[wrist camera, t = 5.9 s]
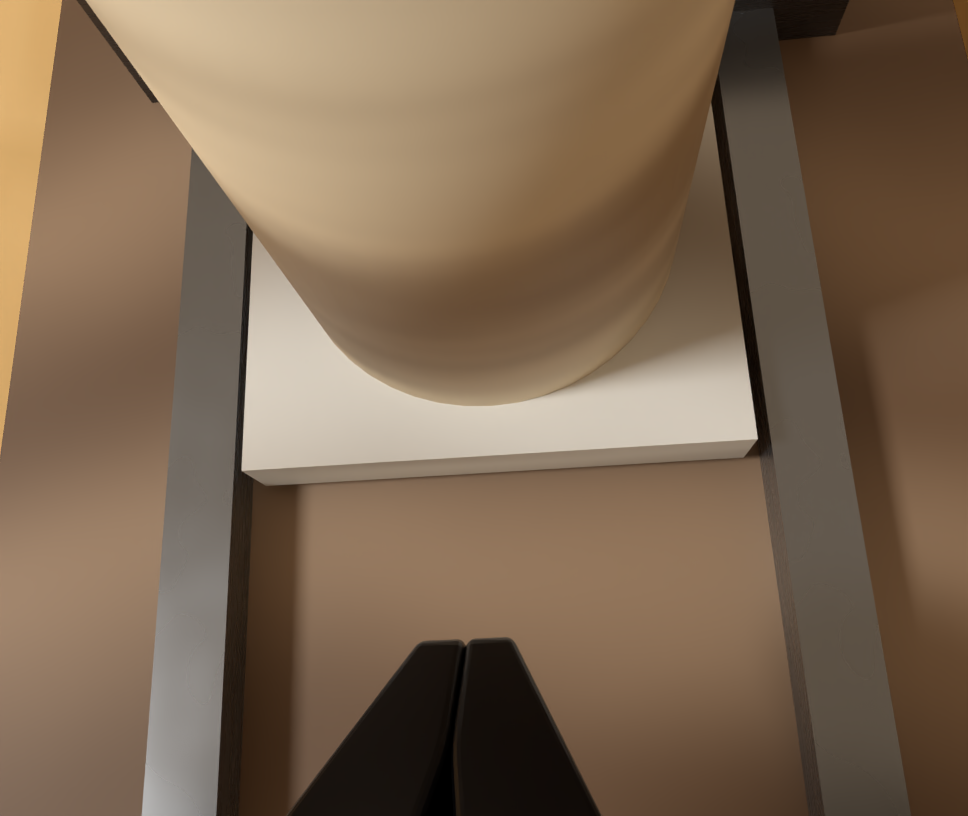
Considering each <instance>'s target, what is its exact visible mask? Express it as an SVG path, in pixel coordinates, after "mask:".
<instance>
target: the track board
mask: <svg viewBox="0 0 968 816" xmlns="http://www.w3.org/2000/svg"><path fill="white" fill-rule="evenodd" d="M779 45H780V51H781V57H782V63H783V69H784V75H785V80H786V86H787V92H788V98H789V104H790V110H791V116H792V121H793V127H794V133H795V139H796V145H797V151H798V157H799V162H800V168H801V174H802V180H803V186H804V192H805V197H806V203H807V209H808V215H809V221H810V227H811V233H812V238H813V244H814V250H815V256H816V262H817V268H818V274H819V279H820V285H821V291H822V297H823V303H824V309H825V315H826V320H827V326H828V332H829V338H830V344H831V350H832V356H833V361H834V367H835V373H836V379H837V385H838V391H839V396H840V402H841V408H842V414H843V420H844V426H845V432H846V437H847V443H848V449H849V455H850V461H851V467H852V473H853V478H854V484H855V490H856V496H857V502H858V508H859V514H860V519H861V525H862V531H863V537H864V543H865V549H866V555H867V560H868V566H869V572H870V578H871V584H872V590H873V595H874V601H875V607H876V613H877V619H878V625H879V631H880V636H881V642H882V648H883V654H884V660H885V666H886V672H887V677H888V683H889V689H890V695H891V701H892V707H893V713H894V718H895V724H896V730H897V736H898V742H899V748H900V754H901V759H902V765H903V771H904V777H905V783H906V789H907V794H908V800H909V806H910V812H911V816H968V59H967V55H966V51H965V47H964V43H963V39H962V35H961V31H960V27H959V23H958V19H957V15H956V11H955V7H954V3H953V0H849V3H848V5H847V8H846V10H845V13H844V15H843V17H842V20H841V22H840V25H839V27H838V30H837V32H836V35H832V36H822V37H812V38H802V39H792V40H782V41H779ZM191 153H192V147H191V145H190V144H189V143H188V141H187V140H186V138H185V137H184V136H183V134H182V133H181V131H180V130H179V129H178V127H177V126H176V125H175V123H174V122H173V120H172V119H171V118H170V116H169V115H168V114H167V112H166V111H165V109H164V108H163V107H162V105H161V104H160V102H157V103H152V102H151V101H150V99H149V98H148V97H147V95H146V94H145V93H144V91H143V90H142V88H141V87H140V86H139V84H138V83H137V82H136V80H135V79H134V78H133V76H132V75H131V74H130V72H129V71H128V69H127V68H126V67H125V65H124V64H123V63H122V61H121V60H120V59H119V57H118V56H117V55H116V53H115V52H114V50H113V49H112V48H111V46H110V45H109V44H108V42H107V41H106V40H105V38H104V37H103V36H102V34H101V33H100V31H99V30H98V29H97V27H96V26H95V25H94V23H93V22H92V21H91V19H90V18H89V17H88V15H87V14H86V12H85V11H84V10H83V8H82V7H81V6H80V4H79V3H78V2H77V0H62V6H61V14H60V21H59V28H58V36H57V43H56V50H55V58H54V65H53V72H52V80H51V87H50V94H49V102H48V109H47V117H46V124H45V131H44V139H43V146H42V153H41V161H40V168H39V175H38V183H37V190H36V197H35V205H34V212H33V219H32V227H31V234H30V242H29V249H28V256H27V264H26V271H25V278H24V286H23V293H22V300H21V308H20V315H19V322H18V330H17V337H16V344H15V352H14V359H13V367H12V374H11V381H10V389H9V396H8V403H7V411H6V418H5V425H4V433H3V440H2V447H1V455H0V816H142V805H143V792H144V778H145V765H146V752H147V738H148V725H149V712H150V698H151V685H152V672H153V659H154V645H155V632H156V619H157V605H158V592H159V579H160V565H161V552H162V539H163V525H164V512H165V499H166V486H167V472H168V459H169V446H170V432H171V419H172V406H173V392H174V379H175V366H176V353H177V339H178V326H179V313H180V299H181V286H182V273H183V259H184V246H185V233H186V219H187V206H188V193H189V180H190V166H191ZM497 637H509V638H511V639H513V641H514V642H515V643H516V645H517V647H518V649H519V651H520V653H521V655H522V657H523V659H524V661H525V663H526V665H527V667H528V669H529V671H530V673H531V675H532V677H533V679H534V681H535V683H536V685H537V687H538V689H539V691H540V693H541V695H542V697H543V699H544V701H545V703H546V705H547V707H548V709H549V711H550V713H551V715H552V717H553V719H554V721H555V723H556V725H557V727H558V729H559V731H560V733H561V735H562V737H563V739H564V741H565V743H566V745H567V747H568V749H569V751H570V753H571V755H572V757H573V759H574V761H575V763H576V765H577V767H578V769H579V771H580V773H581V775H582V777H583V779H584V781H585V783H586V785H587V787H588V789H589V791H590V793H591V795H592V797H593V799H594V801H595V803H596V805H597V807H598V809H599V811H600V813H601V815H602V816H809V811H808V804H807V797H806V790H805V782H804V775H803V768H802V761H801V753H800V746H799V739H798V732H797V724H796V717H795V710H794V703H793V695H792V688H791V681H790V674H789V667H788V659H787V652H786V645H785V638H784V630H783V623H782V616H781V609H780V601H779V594H778V587H777V580H776V572H775V565H774V558H773V551H772V544H771V536H770V529H769V522H768V515H767V507H766V500H765V493H764V486H763V478H762V471H761V464H760V457H759V450H758V442H757V441H756V442H755V443H754V445H753V446H752V447H751V449H750V450H749V451H748V452H747V454H746V455H745V456H744V458H727V459H710V460H693V461H677V462H660V463H643V464H626V465H610V466H593V467H576V468H559V469H543V470H526V471H509V472H492V473H476V474H459V475H442V476H425V477H409V478H392V479H375V480H358V481H342V482H325V483H308V484H291V485H274V486H265V485H264V484H262V483H260V482H259V481H257V480H255V479H254V482H253V505H252V527H251V550H250V573H249V596H248V618H247V641H246V664H245V686H244V709H243V732H242V754H241V777H240V800H239V816H286V815H287V813H288V812H289V811H290V809H291V808H292V807H293V806H294V804H295V803H296V802H297V800H298V799H299V798H300V796H301V795H302V794H303V792H304V791H305V790H306V789H307V787H308V786H309V785H310V783H311V782H312V781H313V779H314V778H315V777H316V775H317V774H318V773H319V772H320V770H321V769H322V768H323V766H324V765H325V764H326V762H327V761H328V760H329V758H330V757H331V756H332V755H333V753H334V752H335V751H336V749H337V748H338V747H339V745H340V744H341V743H342V741H343V740H344V739H345V738H346V736H347V735H348V734H349V732H350V731H351V730H352V728H353V727H354V726H355V724H356V723H357V722H358V721H359V719H360V718H361V717H362V715H363V714H364V713H365V711H366V710H367V709H368V707H369V706H370V705H371V704H372V702H373V701H374V700H375V698H376V697H377V696H378V694H379V693H380V692H381V690H382V689H383V688H384V687H385V685H386V684H387V683H388V681H389V680H390V679H391V677H392V676H393V675H394V673H395V672H396V671H397V670H398V668H399V667H400V666H401V664H402V663H403V662H404V660H405V659H406V658H407V656H408V655H409V654H410V653H411V651H412V650H413V649H414V647H415V646H416V645H417V644H419V643H420V642H422V641H428V640H451V639H459V640H461V641H463V642H464V643H465V645H467V643H468V642H469V641H470V640H471V639H475V638H497Z"/></svg>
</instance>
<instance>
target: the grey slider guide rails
mask: <svg viewBox="0 0 968 816" xmlns="http://www.w3.org/2000/svg"><path fill="white" fill-rule="evenodd" d="M77 2H78V3H79V4H80V6H81V7H82V8H83V10H84V11H85V12H86V14H87V15H88V17H89V18H90V19H91V21H92V22H93V23H94V25H95V26H96V27H97V29H98V30H99V31H100V33H101V34H102V36H103V37H104V38H105V40H106V41H107V42H108V44H109V45H110V46H111V48H112V49H113V50H114V52H115V53H116V55H117V56H118V57H119V59H120V60H121V61H122V63H123V64H124V65H125V67H126V68H127V69H128V71H129V72H130V74H131V75H132V76H133V78H134V79H135V80H136V82H137V83H138V84H139V86H140V87H141V88H142V90H143V91H144V93H145V94H146V95H147V97H148V98H149V99H150V101H151V102H152V103H157V102H159V101H158V100H157V98H156V97H155V96H154V94H153V93H152V91H151V90H150V89H149V87H148V86H147V84H146V83H145V82H144V80H143V79H142V78H141V76H140V75H139V73H138V72H137V71H136V69H135V68H134V67H133V65H132V64H131V62H130V61H129V60H128V58H127V57H126V55H125V54H124V53H123V51H122V50H121V49H120V47H119V46H118V44H117V43H116V42H115V40H114V39H113V37H112V36H111V35H110V33H109V32H108V31H107V29H106V28H105V26H104V25H103V24H102V22H101V21H100V20H99V18H98V17H97V15H96V14H95V13H94V11H93V10H92V8H91V7H90V6H89V4H88V3H87V2H86V0H77ZM848 3H849V0H735V3H734V7H733V12H732V16H731V20H730V24H729V28H728V32H727V37H726V41H725V45H724V49H723V53H722V58H721V62H720V66H719V70H718V74H717V79H716V83H715V87H714V91H713V95H712V100H711V105H712V112H713V119H714V126H715V133H716V141H717V148H718V155H719V162H720V169H721V177H722V184H723V191H724V198H725V206H726V213H727V220H728V227H729V234H730V242H731V249H732V256H733V263H734V271H735V278H736V285H737V292H738V299H739V307H740V314H741V321H742V328H743V336H744V343H745V350H746V357H747V364H748V372H749V379H750V386H751V393H752V400H753V408H754V415H755V422H756V429H757V437H758V440H757V442H758V450H759V457H760V464H761V471H762V478H763V486H764V493H765V500H766V507H767V515H768V522H769V529H770V536H771V544H772V551H773V558H774V565H775V572H776V580H777V587H778V594H779V601H780V609H781V616H782V623H783V630H784V638H785V645H786V652H787V659H788V667H789V674H790V681H791V688H792V695H793V703H794V710H795V717H796V724H797V732H798V739H799V746H800V753H801V761H802V768H803V775H804V782H805V790H806V797H807V804H808V811H809V816H911V812H910V806H909V800H908V794H907V789H906V783H905V777H904V771H903V765H902V759H901V754H900V748H899V742H898V736H897V730H896V724H895V718H894V713H893V707H892V701H891V695H890V689H889V683H888V677H887V672H886V666H885V660H884V654H883V648H882V642H881V636H880V631H879V625H878V619H877V613H876V607H875V601H874V595H873V590H872V584H871V578H870V572H869V566H868V560H867V555H866V549H865V543H864V537H863V531H862V525H861V519H860V514H859V508H858V502H857V496H856V490H855V484H854V478H853V473H852V467H851V461H850V455H849V449H848V443H847V437H846V432H845V426H844V420H843V414H842V408H841V402H840V396H839V391H838V385H837V379H836V373H835V367H834V361H833V356H832V350H831V344H830V338H829V332H828V326H827V320H826V315H825V309H824V303H823V297H822V291H821V285H820V279H819V274H818V268H817V262H816V256H815V250H814V244H813V238H812V233H811V227H810V221H809V215H808V209H807V203H806V197H805V192H804V186H803V180H802V174H801V168H800V162H799V157H798V151H797V145H796V139H795V133H794V127H793V121H792V116H791V110H790V104H789V98H788V92H787V86H786V80H785V75H784V69H783V63H782V57H781V51H780V45H779V41H782V40H792V39H802V38H812V37H822V36H832V35H836V32H837V30H838V27H839V25H840V22H841V20H842V17H843V15H844V13H845V10H846V8H847V5H848ZM252 243H253V231H252V230H251V228H250V227H249V226H248V224H247V223H246V221H245V220H244V219H243V217H242V216H241V214H240V213H239V212H238V210H237V209H236V208H235V206H234V205H233V203H232V202H231V201H230V199H229V198H228V196H227V195H226V194H225V192H224V191H223V190H222V188H221V187H220V185H219V184H218V183H217V181H216V180H215V179H214V177H213V176H212V174H211V173H210V172H209V170H208V169H207V167H206V166H205V165H204V163H203V162H202V161H201V159H200V158H199V156H198V155H197V154H196V152H195V151H194V149H193V148H192V153H191V166H190V180H189V193H188V206H187V219H186V233H185V246H184V259H183V273H182V286H181V299H180V313H179V326H178V339H177V353H176V366H175V379H174V392H173V406H172V419H171V432H170V446H169V459H168V472H167V486H166V499H165V512H164V525H163V539H162V552H161V565H160V579H159V592H158V605H157V619H156V632H155V645H154V659H153V672H152V685H151V698H150V712H149V725H148V738H147V752H146V765H145V778H144V792H143V805H142V816H239V800H240V777H241V754H242V732H243V709H244V686H245V664H246V641H247V618H248V596H249V573H250V550H251V527H252V505H253V482H254V478H252V477H251V476H249V475H247V474H246V473H244V472H243V471H241V470H242V449H243V429H244V408H245V387H246V367H247V346H248V326H249V305H250V285H251V264H252Z"/></svg>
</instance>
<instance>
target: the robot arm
mask: <svg viewBox="0 0 968 816" xmlns="http://www.w3.org/2000/svg"><path fill="white" fill-rule="evenodd" d="M286 816H602V815H601V813H600V811H599V809H598V807H597V805H596V803H595V801H594V799H593V797H592V795H591V793H590V791H589V789H588V787H587V785H586V783H585V781H584V779H583V777H582V775H581V773H580V771H579V769H578V767H577V765H576V763H575V761H574V759H573V757H572V755H571V753H570V751H569V749H568V747H567V745H566V743H565V741H564V739H563V737H562V735H561V733H560V731H559V729H558V727H557V725H556V723H555V721H554V719H553V717H552V715H551V713H550V711H549V709H548V707H547V705H546V703H545V701H544V699H543V697H542V695H541V693H540V691H539V689H538V687H537V685H536V683H535V681H534V679H533V677H532V675H531V673H530V671H529V669H528V667H527V665H526V663H525V661H524V659H523V657H522V655H521V653H520V651H519V649H518V647H517V645H516V643H515V642H514V641H513V639H511V638H509V637H497V638H475V639H471V640H470V641H469V642H468V643H467V645H465V643H464V642H463V641H461V640H459V639H451V640H428V641H422V642H420V643H419V644H417V645H416V646H415V647H414V649H413V650H412V651H411V653H410V654H409V655H408V656H407V658H406V659H405V660H404V662H403V663H402V664H401V666H400V667H399V668H398V670H397V671H396V672H395V673H394V675H393V676H392V677H391V679H390V680H389V681H388V683H387V684H386V685H385V687H384V688H383V689H382V690H381V692H380V693H379V694H378V696H377V697H376V698H375V700H374V701H373V702H372V704H371V705H370V706H369V707H368V709H367V710H366V711H365V713H364V714H363V715H362V717H361V718H360V719H359V721H358V722H357V723H356V724H355V726H354V727H353V728H352V730H351V731H350V732H349V734H348V735H347V736H346V738H345V739H344V740H343V741H342V743H341V744H340V745H339V747H338V748H337V749H336V751H335V752H334V753H333V755H332V756H331V757H330V758H329V760H328V761H327V762H326V764H325V765H324V766H323V768H322V769H321V770H320V772H319V773H318V774H317V775H316V777H315V778H314V779H313V781H312V782H311V783H310V785H309V786H308V787H307V789H306V790H305V791H304V792H303V794H302V795H301V796H300V798H299V799H298V800H297V802H296V803H295V804H294V806H293V807H292V808H291V809H290V811H289V812H288V813H287V815H286Z"/></svg>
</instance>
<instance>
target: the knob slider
mask: <svg viewBox="0 0 968 816" xmlns="http://www.w3.org/2000/svg"><path fill="white" fill-rule="evenodd" d="M86 2H87V3H88V4H89V6H90V7H91V8H92V10H93V11H94V13H95V14H96V15H97V17H98V18H99V20H100V21H101V22H102V24H103V25H104V26H105V28H106V29H107V31H108V32H109V33H110V35H111V36H112V37H113V39H114V40H115V42H116V43H117V44H118V46H119V47H120V49H121V50H122V51H123V53H124V54H125V55H126V57H127V58H128V60H129V61H130V62H131V64H132V65H133V67H134V68H135V69H136V71H137V72H138V73H139V75H140V76H141V78H142V79H143V80H144V82H145V83H146V84H147V86H148V87H149V89H150V90H151V91H152V93H153V94H154V96H155V97H156V98H157V100H158V101H159V102H160V104H161V105H162V107H163V108H164V109H165V111H166V112H167V114H168V115H169V116H170V118H171V119H172V120H173V122H174V123H175V125H176V126H177V127H178V129H179V130H180V131H181V133H182V134H183V136H184V137H185V138H186V140H187V141H188V143H189V144H190V145H191V147H192V148H193V149H194V151H195V152H196V154H197V155H198V156H199V158H200V159H201V161H202V162H203V163H204V165H205V166H206V167H207V169H208V170H209V172H210V173H211V174H212V176H213V177H214V179H215V180H216V181H217V183H218V184H219V185H220V187H221V188H222V190H223V191H224V192H225V194H226V195H227V196H228V198H229V199H230V201H231V202H232V203H233V205H234V206H235V208H236V209H237V210H238V212H239V213H240V214H241V216H242V217H243V219H244V220H245V221H246V223H247V224H248V226H249V227H250V228H251V230H252V231H253V243H252V264H251V285H250V305H249V326H248V346H247V367H246V387H245V408H244V429H243V449H242V470H241V471H243V472H244V473H246V474H247V475H249V476H251V477H252V478H254V479H255V480H257V481H259V482H260V483H262V484H264V485H265V486H274V485H291V484H308V483H325V482H342V481H358V480H375V479H392V478H409V477H425V476H442V475H459V474H476V473H492V472H509V471H526V470H543V469H559V468H576V467H593V466H610V465H626V464H643V463H660V462H677V461H693V460H710V459H727V458H744V456H745V455H746V454H747V452H748V451H749V450H750V449H751V447H752V446H753V445H754V443H755V442H756V441H757V440H758V437H757V429H756V422H755V415H754V408H753V400H752V393H751V386H750V379H749V372H748V364H747V357H746V350H745V343H744V336H743V328H742V321H741V314H740V307H739V299H738V292H737V285H736V278H735V271H734V263H733V256H732V249H731V242H730V234H729V227H728V220H727V213H726V206H725V198H724V191H723V184H722V177H721V169H720V162H719V155H718V148H717V141H716V133H715V126H714V119H713V112H712V105H711V100H712V95H713V91H714V87H715V83H716V79H717V74H718V70H719V66H720V62H721V58H722V53H723V49H724V45H725V41H726V37H727V32H728V28H729V24H730V20H731V16H732V12H733V7H734V3H735V0H86Z"/></svg>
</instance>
